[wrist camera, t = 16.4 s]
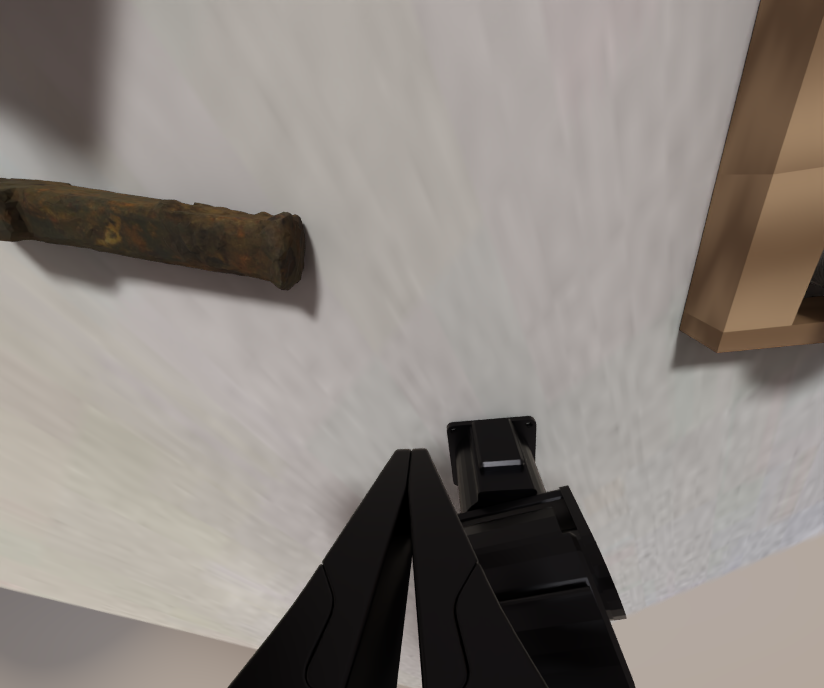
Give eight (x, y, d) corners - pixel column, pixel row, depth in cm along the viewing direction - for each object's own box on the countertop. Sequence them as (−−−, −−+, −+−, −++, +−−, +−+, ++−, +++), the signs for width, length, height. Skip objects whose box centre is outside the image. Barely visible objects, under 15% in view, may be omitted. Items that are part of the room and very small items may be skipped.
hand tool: (313, 211, 18) (279, 221, 14) (309, 278, 20) (278, 305, 16) (-36, 134, 18) (-179, 122, 13) (-7, 212, 19) (-124, 222, 15)
